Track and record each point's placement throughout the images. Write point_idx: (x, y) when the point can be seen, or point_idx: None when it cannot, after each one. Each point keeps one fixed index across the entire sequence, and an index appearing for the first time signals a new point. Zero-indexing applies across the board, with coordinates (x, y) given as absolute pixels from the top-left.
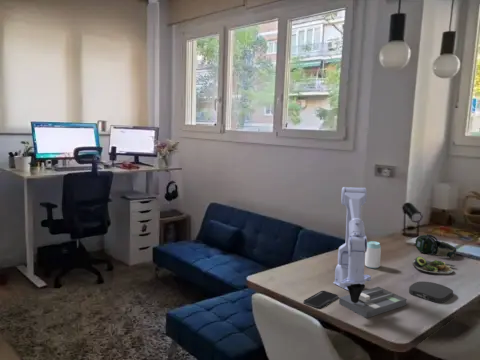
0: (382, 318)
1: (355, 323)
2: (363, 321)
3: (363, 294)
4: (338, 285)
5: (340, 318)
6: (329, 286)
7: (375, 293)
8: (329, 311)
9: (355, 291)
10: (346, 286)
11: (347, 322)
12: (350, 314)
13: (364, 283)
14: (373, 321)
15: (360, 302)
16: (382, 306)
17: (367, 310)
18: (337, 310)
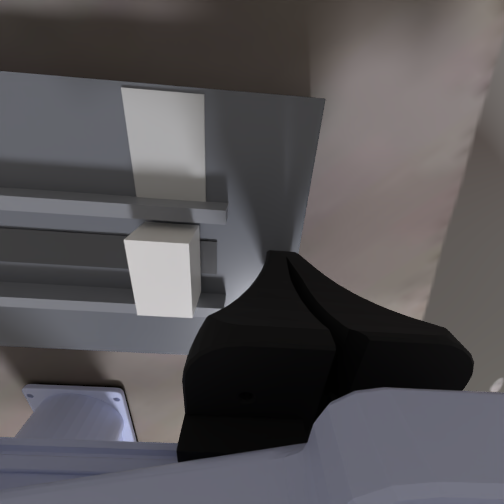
0: (200, 7)
1: (450, 95)
2: (375, 79)
3: (156, 293)
4: (132, 429)
5: (441, 212)
6: (173, 436)
7: (2, 285)
8: (397, 300)
9: (399, 314)
10: (111, 413)
11: (470, 145)
12: (343, 214)
13: (418, 400)
14: (314, 19)
15: (219, 252)
16: (94, 82)
17: (296, 113)
18: (354, 287)
